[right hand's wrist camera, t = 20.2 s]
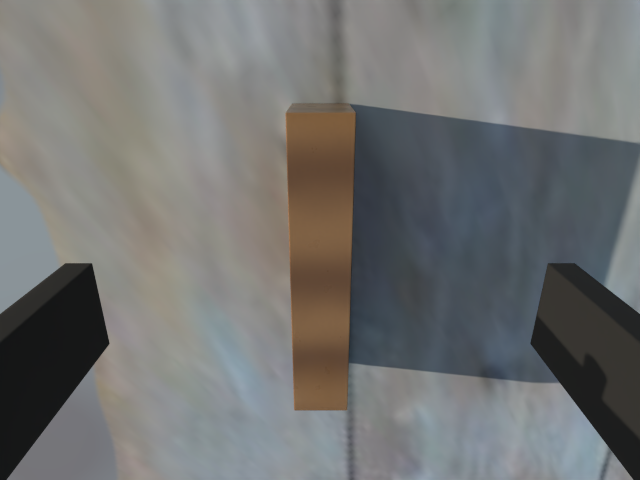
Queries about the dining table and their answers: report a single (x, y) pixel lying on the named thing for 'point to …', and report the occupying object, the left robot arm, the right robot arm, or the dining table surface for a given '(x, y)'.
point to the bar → (320, 249)
